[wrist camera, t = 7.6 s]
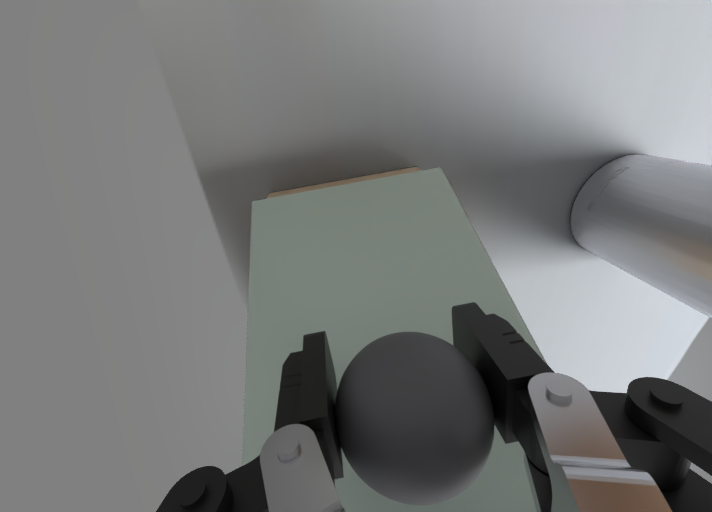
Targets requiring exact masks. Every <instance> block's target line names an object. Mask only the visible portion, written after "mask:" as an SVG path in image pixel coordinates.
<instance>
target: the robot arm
mask: <svg viewBox="0 0 712 512" xmlns="http://www.w3.org/2000/svg"><path fill="white" fill-rule="evenodd" d="M571 229H572V233H573V236H574V238H575V240H576V241H577V242H578V244H579V245H580V246H581V247H583V248H584V249H586V250H587V251H589V252H591V253H593V254H595V255H597V256H598V257H600V258H602V259H604V260H606V261H608V262H609V263H611V264H613V265H615V266H617V267H618V268H620V269H622V270H624V271H626V272H627V273H629V274H631V275H633V276H635V277H637V278H638V279H640V280H642V281H644V282H646V283H648V284H650V285H651V286H653V287H655V288H657V289H659V290H661V291H662V292H664V293H666V294H668V295H670V296H672V297H673V298H675V299H677V300H679V301H681V302H683V303H685V304H686V305H688V306H690V307H692V308H694V309H696V310H697V311H699V312H701V313H703V314H705V315H707V316H708V317H710V318H712V166H711V165H705V164H699V163H692V162H687V161H681V160H674V159H668V158H661V157H654V156H648V155H641V154H635V155H627V156H623V157H620V158H617V159H615V160H613V161H611V162H609V163H607V164H606V165H604V166H603V167H602V168H600V169H599V170H598V171H596V172H595V173H594V174H593V175H592V176H591V177H590V178H589V179H588V180H587V182H586V183H585V184H584V186H583V187H582V189H581V190H580V192H579V194H578V196H577V198H576V200H575V202H574V205H573V209H572V212H571ZM452 330H453V345H454V346H455V347H456V348H458V349H459V350H460V351H461V352H463V353H464V354H465V355H466V356H467V357H468V358H469V359H470V360H471V362H472V363H473V364H474V365H475V367H476V368H477V369H478V371H479V373H480V374H481V376H482V378H483V380H484V382H485V384H486V386H487V388H488V391H489V394H490V397H491V399H492V404H493V409H494V419H495V426H496V428H497V430H498V432H499V433H500V435H501V437H502V439H503V440H504V442H505V444H508V443H513V442H518V441H519V443H520V445H521V446H522V448H523V450H524V465H525V469H526V473H527V477H528V480H529V484H530V488H531V492H532V496H533V500H534V504H535V508H536V512H712V484H711V483H710V482H708V481H707V480H705V479H703V478H702V477H701V476H699V475H698V474H697V473H695V472H693V471H692V470H691V469H689V467H690V465H691V462H692V463H694V464H695V465H697V466H698V467H700V468H701V469H703V470H704V471H706V472H707V473H709V474H710V475H711V476H712V402H711V401H709V400H707V399H705V398H703V397H701V396H700V395H698V394H696V393H694V392H692V391H690V390H689V389H686V388H685V387H683V386H681V385H678V384H676V383H674V382H671V381H668V380H664V379H660V378H653V377H644V378H638V379H635V380H633V381H632V382H630V384H629V386H628V390H627V393H612V392H597V391H590V390H588V389H587V388H586V387H585V386H584V385H583V384H582V383H580V382H579V381H577V380H575V379H574V378H572V377H569V376H567V375H563V374H559V373H554V371H553V370H552V369H551V368H550V367H549V366H548V365H547V364H546V363H545V362H544V360H543V359H542V358H541V357H540V356H539V355H538V354H537V353H536V352H535V351H534V349H533V348H532V347H531V346H530V345H529V344H528V343H527V342H525V341H524V338H523V337H522V336H521V335H520V334H519V333H517V331H516V330H515V329H514V327H513V326H512V325H511V324H510V323H509V322H508V321H507V320H505V319H503V318H501V317H499V316H498V315H496V314H494V313H493V314H488V315H486V314H485V313H484V312H483V311H482V309H481V308H480V307H479V306H478V305H477V304H476V303H475V302H472V303H466V304H461V305H456V306H453V307H452ZM336 395H337V383H336V376H335V370H334V365H333V361H332V356H331V352H330V348H329V343H328V339H327V335H326V332H325V331H321V332H316V333H311V334H306V335H304V336H303V351H298V352H293V353H290V354H289V356H288V357H287V359H286V360H285V362H284V364H283V366H282V374H281V381H280V390H279V396H278V404H277V412H276V419H275V427H274V433H273V434H272V435H270V437H269V438H268V439H267V440H266V442H265V443H264V445H263V447H262V449H261V453H260V455H259V456H258V457H256V458H255V459H254V460H252V461H251V462H249V463H247V464H245V465H243V466H241V467H240V468H238V469H236V470H234V471H232V472H230V473H228V474H226V475H225V474H224V473H223V472H222V470H221V469H219V468H217V467H214V466H205V467H201V468H198V469H195V470H194V471H191V472H190V473H188V474H186V475H185V476H184V477H182V478H181V479H180V480H179V481H178V482H177V483H176V484H175V485H174V486H173V487H172V489H171V490H170V491H169V493H168V494H167V496H166V497H165V499H164V500H163V502H162V503H161V505H160V506H159V508H158V509H157V511H156V512H346V511H345V509H344V508H343V507H342V505H341V502H340V499H339V497H338V494H337V491H336V489H335V479H339V478H344V474H343V461H342V448H341V445H340V442H339V439H338V434H337V427H336V420H335V400H336Z"/></svg>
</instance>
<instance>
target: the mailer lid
mask: <svg viewBox="0 0 712 512" xmlns="http://www.w3.org/2000/svg"><path fill="white" fill-rule="evenodd" d="M472 302H475V303H476V304H477V305H478V306H479V307H480V308H481V309H482V311H483V312H484V313H485V314H486V315H488V314H493V313H494V314H496V315H498V316H499V317H501V318H503V319H505V320H507V321H508V322H509V323H510V324H511V325H512V326H513V327H514V329H515V330H516V331H517V333H519V334H520V335H521V336H522V337H523V338H524V341H525V342H527V343H528V344H529V345H530V346H531V347H532V348H533V349H534V351H535V352H536V353H537V354H538V355H539V356H540V357H541V358H542V359H543V360H544V362H545V363H546V361H545V359H544V358H543V356H542V354H541V352H540V350H539V348H538V346H537V345H536V343H535V341H534V339H533V337H532V335H531V333H530V332H529V330H528V328H527V326H526V324H525V322H524V320H523V319H522V317H521V315H520V313H519V311H518V309H517V307H516V306H515V304H514V302H513V300H512V298H511V296H510V294H509V293H508V291H507V289H506V287H505V285H504V283H503V281H502V280H501V278H500V276H499V274H498V272H497V270H496V269H495V267H494V265H493V263H492V261H491V259H490V257H489V256H488V254H487V252H486V250H485V248H484V246H483V244H482V243H481V241H480V239H479V237H478V235H477V233H476V231H475V230H474V228H473V226H472V224H471V222H470V220H469V218H468V217H467V215H466V213H465V211H464V209H463V207H462V205H461V204H460V202H459V200H458V198H457V196H456V194H455V192H454V191H453V189H452V187H451V185H450V183H449V181H448V180H447V178H446V176H445V174H444V172H443V170H442V168H441V167H438V168H433V169H427V170H422V171H416V172H411V173H405V174H400V175H394V176H389V177H383V178H378V179H372V180H367V181H361V182H356V183H350V184H345V185H339V186H334V187H328V188H323V189H317V190H312V191H306V192H301V193H295V194H290V195H284V196H278V197H273V198H267V199H262V200H256V201H252V212H251V239H250V266H249V292H248V319H247V346H246V374H245V399H244V401H245V403H244V427H243V454H242V466H243V465H245V464H247V463H249V462H251V461H252V460H254V459H255V458H256V457H258V456H259V455H260V453H261V449H262V447H263V445H264V443H265V442H266V440H267V439H268V438H269V437H270V435H272V434H273V433H274V427H275V419H276V412H277V404H278V396H279V390H280V381H281V374H282V366H283V364H284V362H285V360H286V359H287V357H288V356H289V354H290V353H293V352H298V351H303V336H304V335H306V334H311V333H316V332H321V331H325V332H326V335H327V339H328V343H329V348H330V352H331V356H332V361H333V365H334V370H335V376H336V383H337V395H336V400H335V420H336V427H337V434H338V439H339V442H340V445H341V448H342V461H343V474H344V478H339V479H335V489H336V491H337V494H338V497H339V499H340V502H341V505H342V507H343V508H344V509H345V511H346V512H536V508H535V504H534V500H533V496H532V492H531V488H530V484H529V480H528V477H527V473H526V469H525V465H524V450H523V448H522V446H521V445H520V443H519V441H518V442H513V443H508V444H505V442H504V440H503V439H502V437H501V435H500V433H499V432H498V430H497V428H496V426H495V419H494V409H493V404H492V399H491V397H490V394H489V391H488V388H487V386H486V384H485V382H484V380H483V378H482V376H481V374H480V373H479V371H478V369H477V368H476V367H475V365H474V364H473V363H472V362H471V360H470V359H469V358H468V357H467V356H466V355H465V354H464V353H463V352H461V351H460V350H459V349H458V348H456V347H455V346H454V345H453V330H452V307H453V306H456V305H461V304H466V303H472ZM546 364H547V363H546Z"/></svg>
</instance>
